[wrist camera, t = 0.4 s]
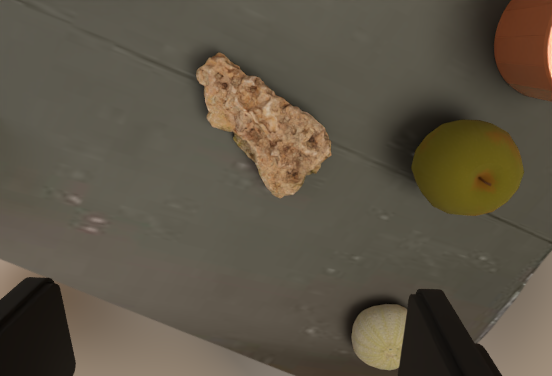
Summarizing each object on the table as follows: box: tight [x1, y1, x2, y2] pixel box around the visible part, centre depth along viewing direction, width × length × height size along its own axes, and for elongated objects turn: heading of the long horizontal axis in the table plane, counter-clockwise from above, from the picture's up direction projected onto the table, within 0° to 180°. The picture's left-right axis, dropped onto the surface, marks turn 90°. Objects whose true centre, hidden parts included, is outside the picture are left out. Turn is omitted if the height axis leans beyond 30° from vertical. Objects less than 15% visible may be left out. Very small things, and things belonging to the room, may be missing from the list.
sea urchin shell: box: [351, 304, 407, 370], centre depth 52 cm, size 9×8×8 cm
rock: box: [196, 53, 331, 198], centre depth 43 cm, size 17×5×10 cm
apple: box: [411, 120, 524, 216], centre depth 40 cm, size 10×10×11 cm
